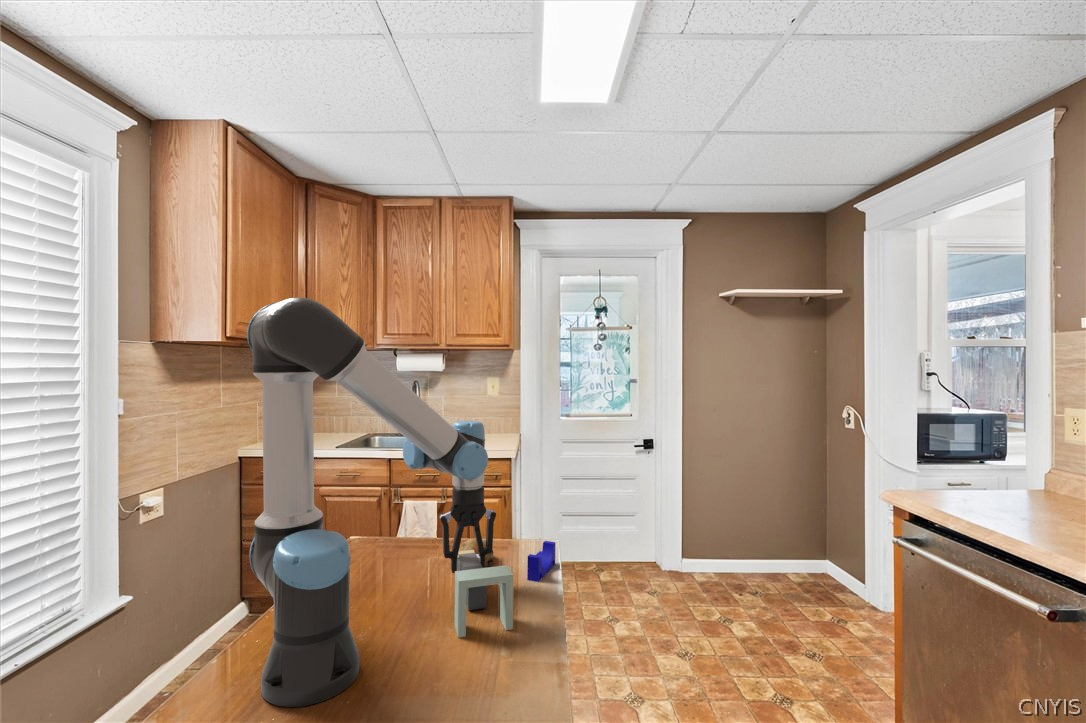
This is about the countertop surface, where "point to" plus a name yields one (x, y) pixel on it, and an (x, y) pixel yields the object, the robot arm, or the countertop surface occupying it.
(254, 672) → the countertop surface
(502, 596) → the pale green arch
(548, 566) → the blue cradle block
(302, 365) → the robot arm
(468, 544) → the bread roll
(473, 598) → the grey rectangular block
